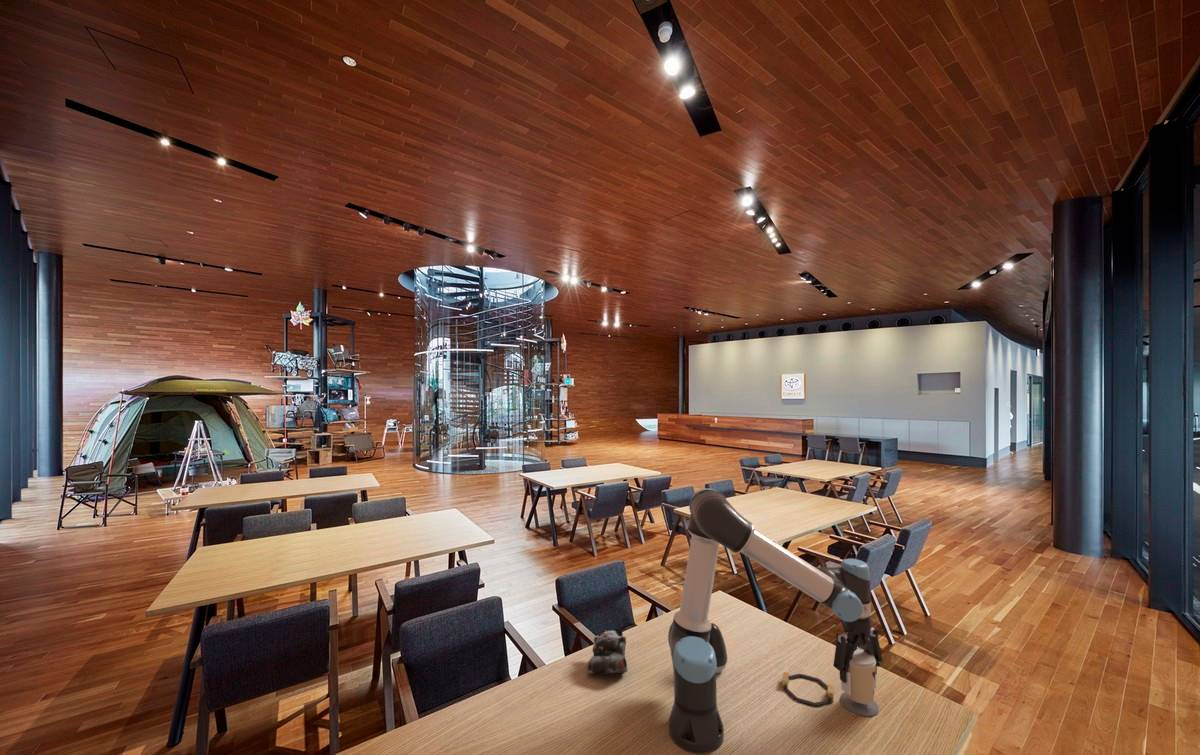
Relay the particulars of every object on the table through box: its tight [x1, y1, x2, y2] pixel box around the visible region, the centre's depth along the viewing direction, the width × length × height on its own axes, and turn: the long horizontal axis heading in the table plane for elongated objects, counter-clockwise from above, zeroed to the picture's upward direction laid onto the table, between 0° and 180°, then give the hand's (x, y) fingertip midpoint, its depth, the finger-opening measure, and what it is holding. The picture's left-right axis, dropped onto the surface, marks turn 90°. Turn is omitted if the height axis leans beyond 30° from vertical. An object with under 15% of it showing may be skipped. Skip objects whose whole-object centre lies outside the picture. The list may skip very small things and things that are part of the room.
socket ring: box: [781, 671, 835, 708], centre depth 144 cm, size 14×14×2 cm
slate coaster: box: [839, 692, 880, 718], centre depth 137 cm, size 10×10×1 cm
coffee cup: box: [844, 647, 876, 704], centre depth 138 cm, size 9×9×12 cm
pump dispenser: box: [709, 622, 728, 674], centre depth 156 cm, size 10×10×15 cm
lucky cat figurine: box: [586, 628, 628, 675], centre depth 157 cm, size 15×12×14 cm
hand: (858, 688), depth 137 cm, fingers closed on coffee cup, 9 cm apart
